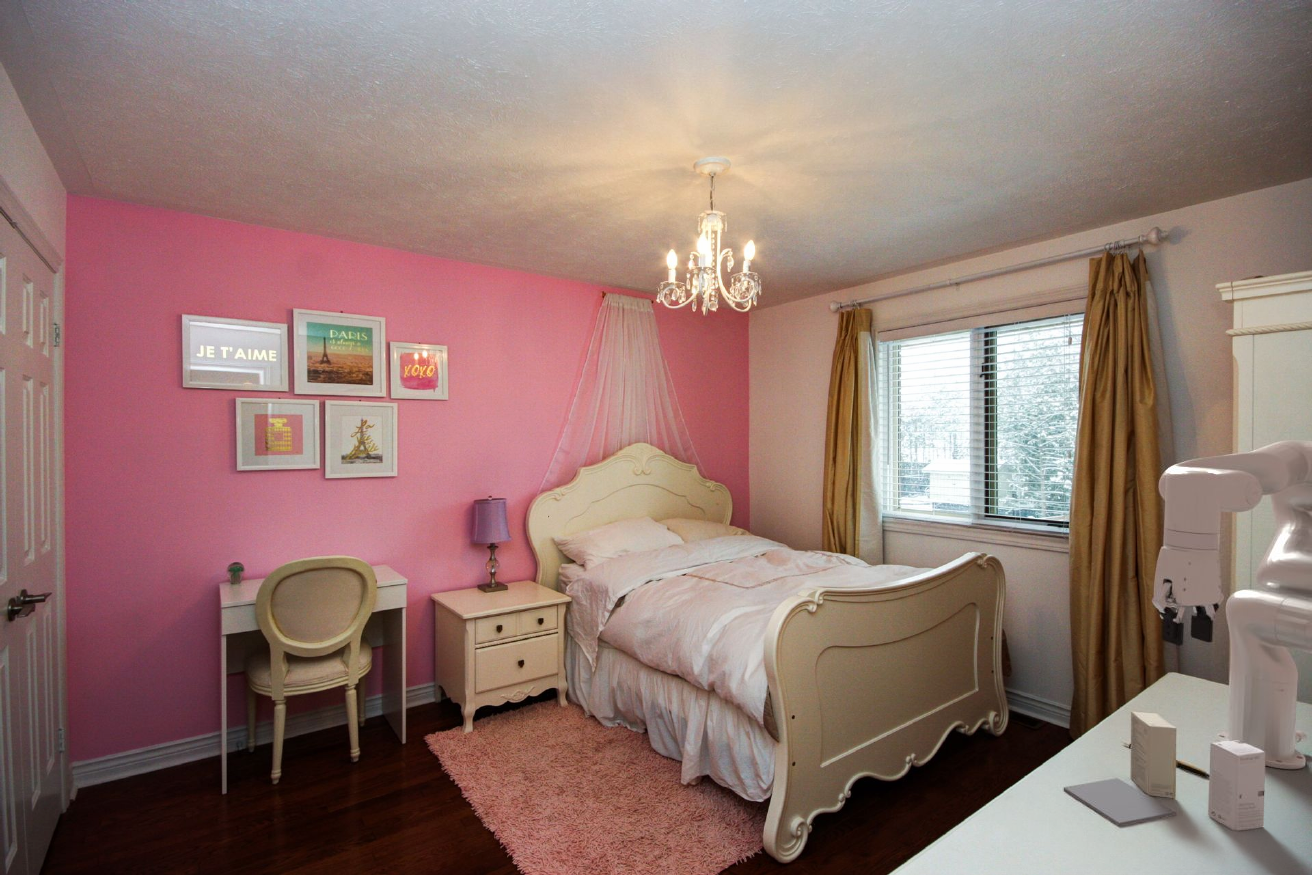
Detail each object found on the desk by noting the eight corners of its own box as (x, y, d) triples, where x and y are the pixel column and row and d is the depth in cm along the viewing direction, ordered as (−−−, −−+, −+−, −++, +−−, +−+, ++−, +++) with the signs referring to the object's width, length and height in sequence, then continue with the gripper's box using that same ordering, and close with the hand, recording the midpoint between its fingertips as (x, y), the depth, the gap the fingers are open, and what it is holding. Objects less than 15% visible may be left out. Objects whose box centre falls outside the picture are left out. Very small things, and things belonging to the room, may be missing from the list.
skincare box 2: (1235, 832, 100) (1239, 756, 99) (1205, 814, 104) (1208, 742, 104) (1265, 827, 101) (1269, 752, 101) (1234, 810, 105) (1237, 738, 105)
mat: (1117, 780, 114) (1117, 777, 114) (1175, 814, 104) (1176, 811, 104) (1063, 789, 110) (1063, 787, 110) (1119, 825, 101) (1119, 822, 101)
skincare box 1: (1176, 799, 108) (1179, 729, 108) (1146, 795, 109) (1149, 726, 109) (1155, 778, 114) (1158, 712, 114) (1127, 775, 115) (1130, 709, 115)
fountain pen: (1118, 745, 127) (1119, 738, 127) (1121, 744, 127) (1121, 736, 127) (1209, 781, 114) (1210, 772, 114) (1212, 779, 115) (1212, 771, 115)
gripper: (1203, 535, 118) (1200, 630, 119) (1132, 538, 114) (1128, 637, 114) (1250, 542, 111) (1246, 644, 111) (1176, 546, 106) (1172, 653, 107)
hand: (1186, 640), depth 113 cm, fingers open, 6 cm apart
